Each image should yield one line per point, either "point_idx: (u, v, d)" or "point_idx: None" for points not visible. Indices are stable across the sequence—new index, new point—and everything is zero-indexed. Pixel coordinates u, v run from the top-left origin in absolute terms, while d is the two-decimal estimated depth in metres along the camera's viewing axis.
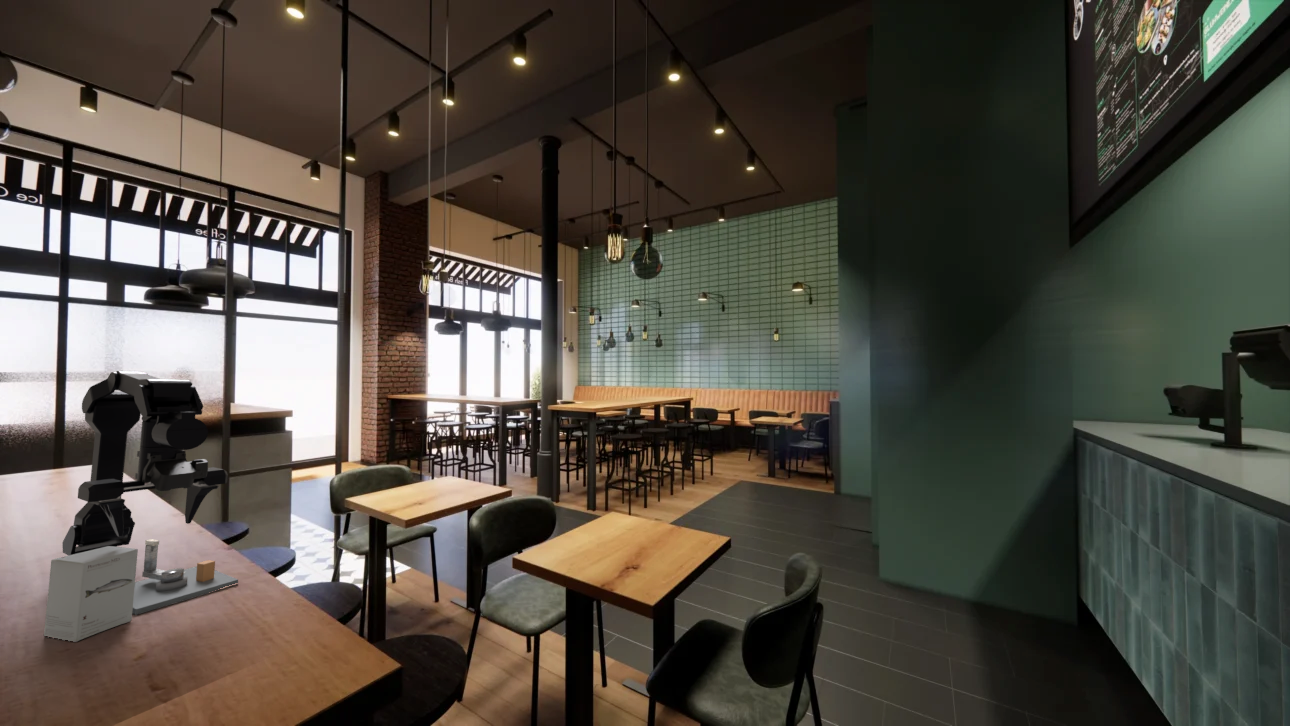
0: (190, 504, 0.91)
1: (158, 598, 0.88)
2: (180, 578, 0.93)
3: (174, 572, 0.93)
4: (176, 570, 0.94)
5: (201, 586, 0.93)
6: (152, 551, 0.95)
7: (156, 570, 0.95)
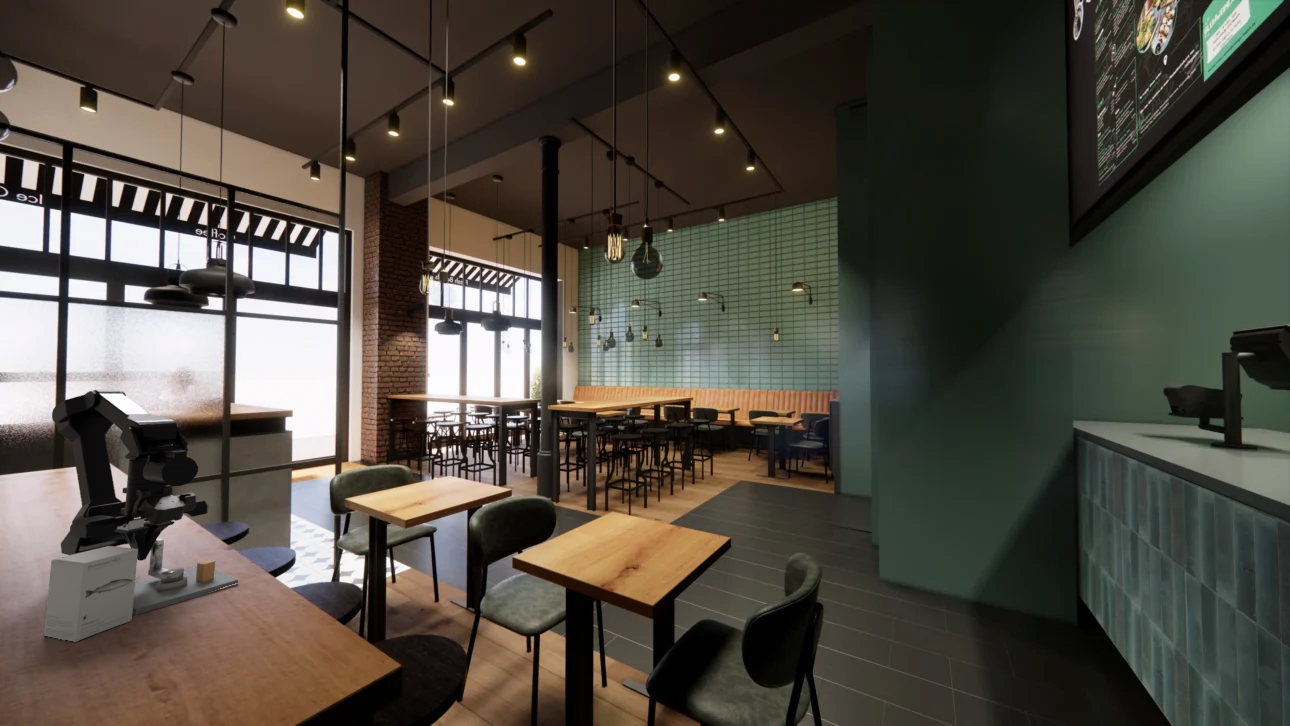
0: (145, 541, 0.94)
1: (158, 598, 0.88)
2: (179, 578, 0.93)
3: (173, 572, 0.93)
4: (176, 570, 0.94)
5: (201, 586, 0.93)
6: (157, 549, 0.96)
7: (161, 569, 0.96)
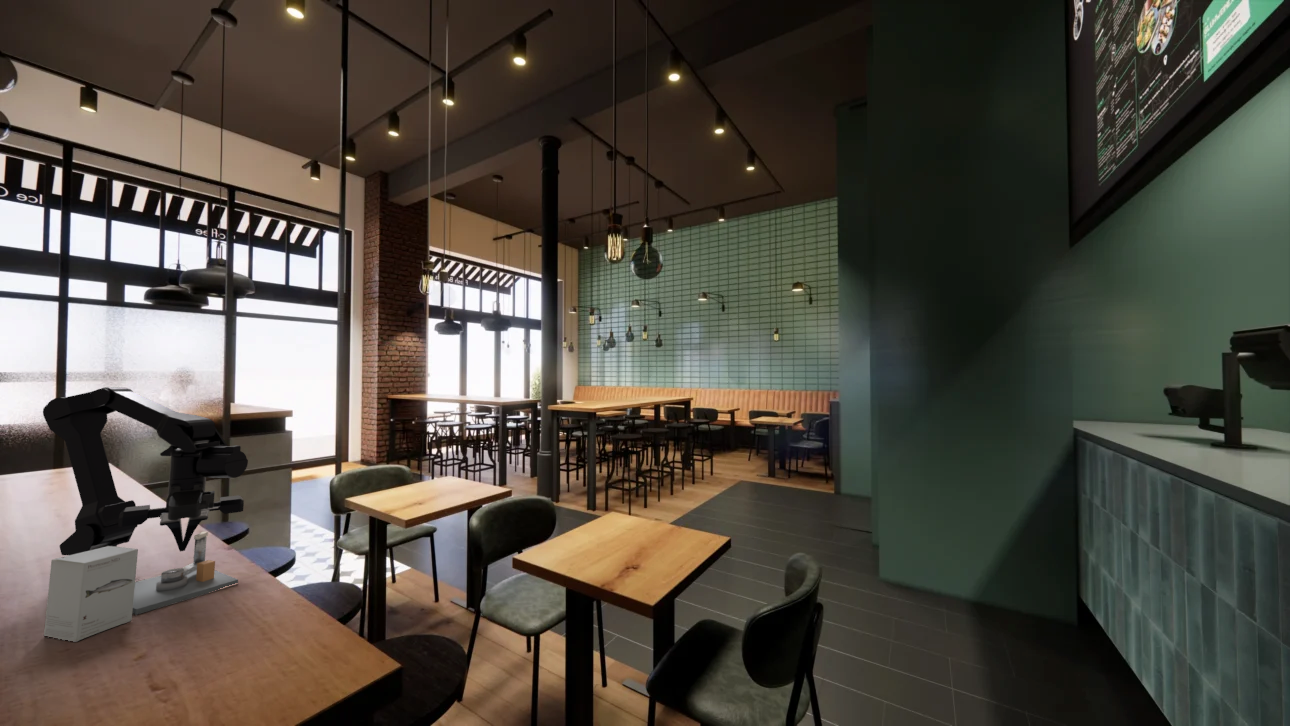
0: (185, 533, 0.99)
1: (158, 598, 0.88)
2: (168, 581, 0.92)
3: (167, 573, 0.92)
4: (175, 571, 0.93)
5: (201, 586, 0.93)
6: (196, 544, 0.99)
7: (196, 564, 0.99)
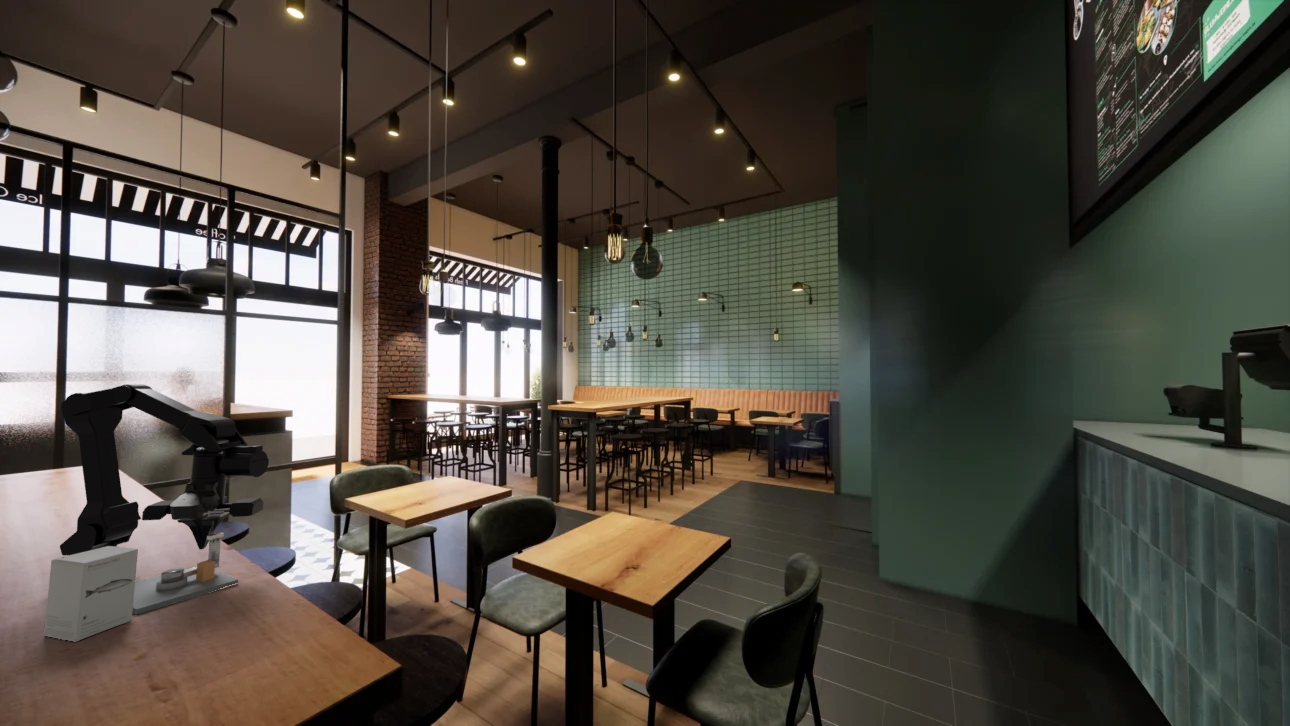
0: None
1: (158, 598, 0.88)
2: (164, 581, 0.92)
3: (166, 572, 0.92)
4: (174, 571, 0.93)
5: (201, 586, 0.93)
6: (209, 544, 0.99)
7: None
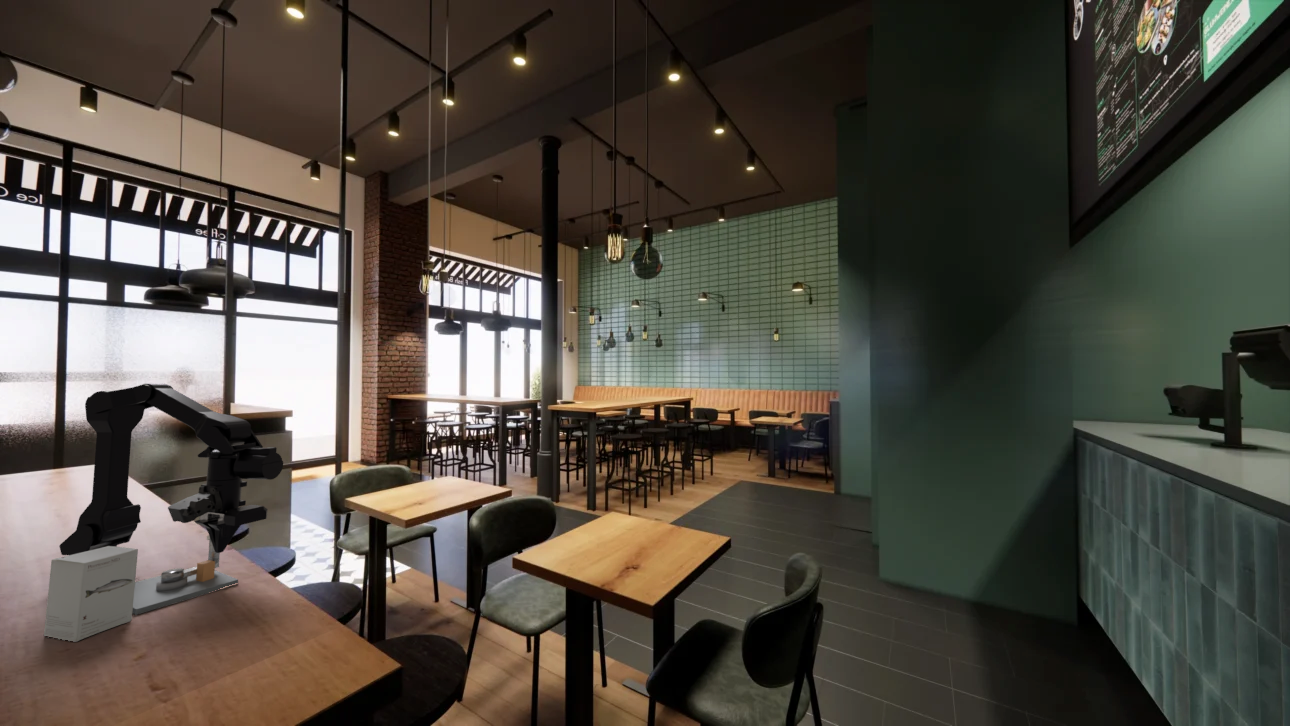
0: None
1: (158, 598, 0.88)
2: (164, 581, 0.92)
3: (166, 572, 0.92)
4: (174, 571, 0.93)
5: (201, 586, 0.93)
6: (209, 544, 0.99)
7: None
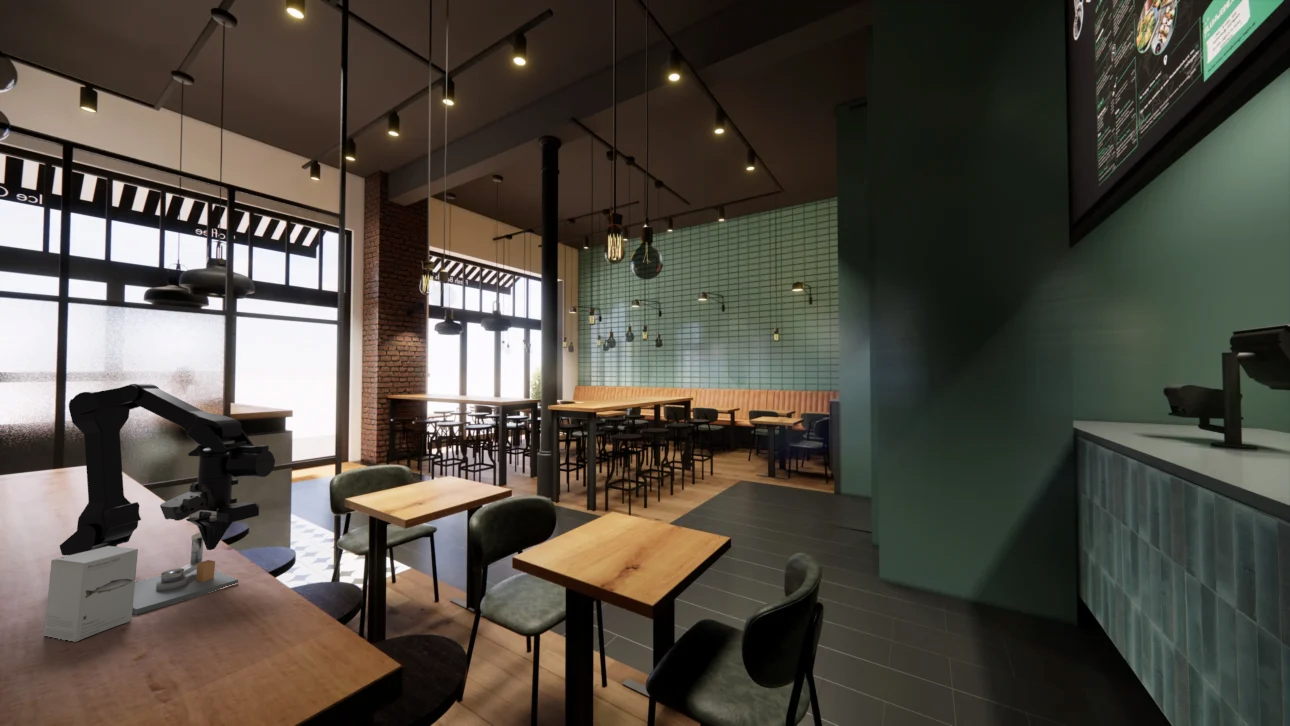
0: None
1: (158, 598, 0.88)
2: (169, 580, 0.92)
3: (168, 573, 0.92)
4: (175, 571, 0.93)
5: (201, 586, 0.93)
6: (193, 544, 0.99)
7: (194, 564, 0.99)
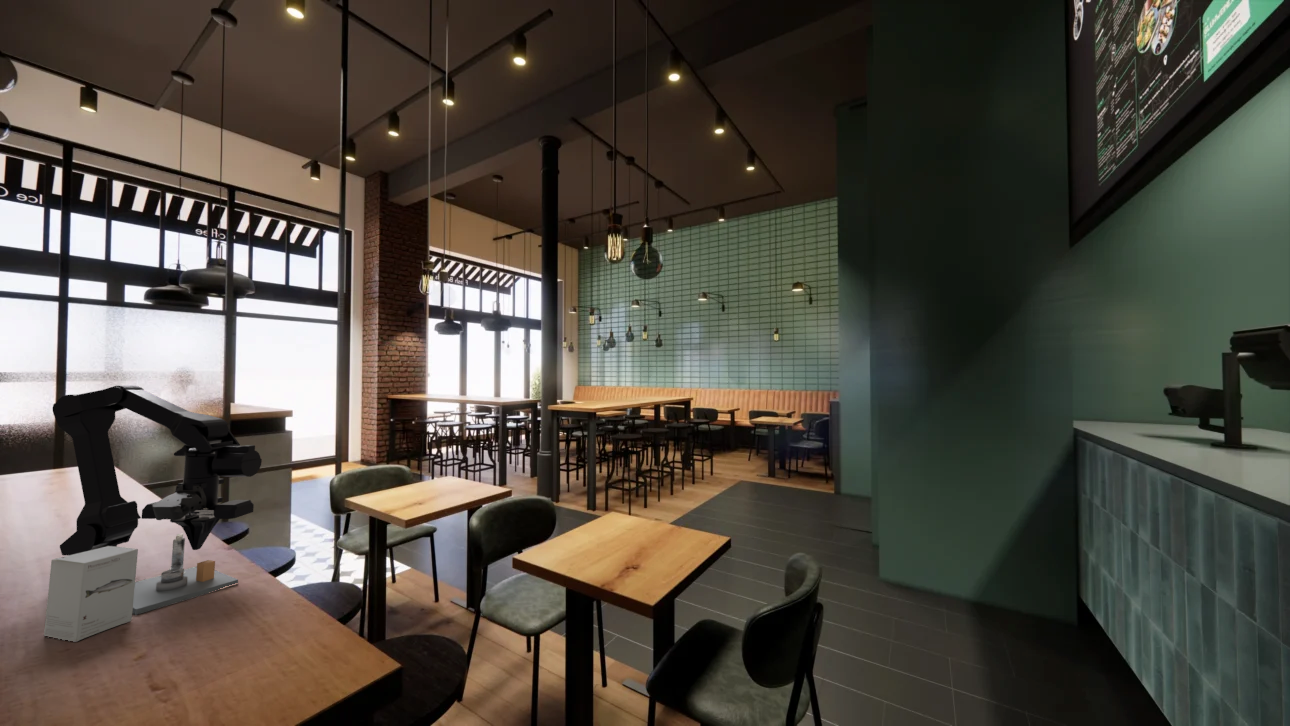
0: None
1: (158, 598, 0.88)
2: (174, 579, 0.92)
3: (170, 573, 0.92)
4: (176, 570, 0.94)
5: (201, 586, 0.93)
6: (176, 546, 0.98)
7: (178, 565, 0.98)
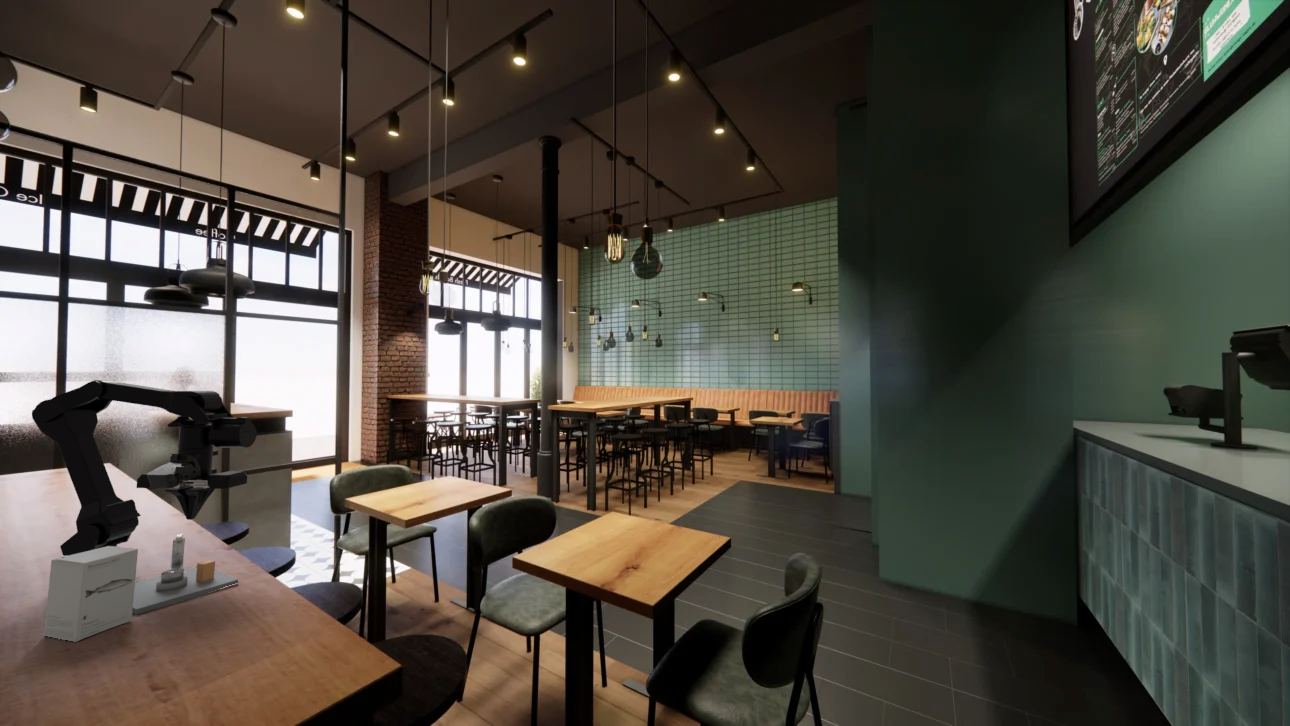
0: None
1: (158, 598, 0.88)
2: (174, 579, 0.92)
3: (170, 573, 0.92)
4: (176, 570, 0.94)
5: (201, 586, 0.93)
6: (176, 546, 0.98)
7: (178, 565, 0.98)
